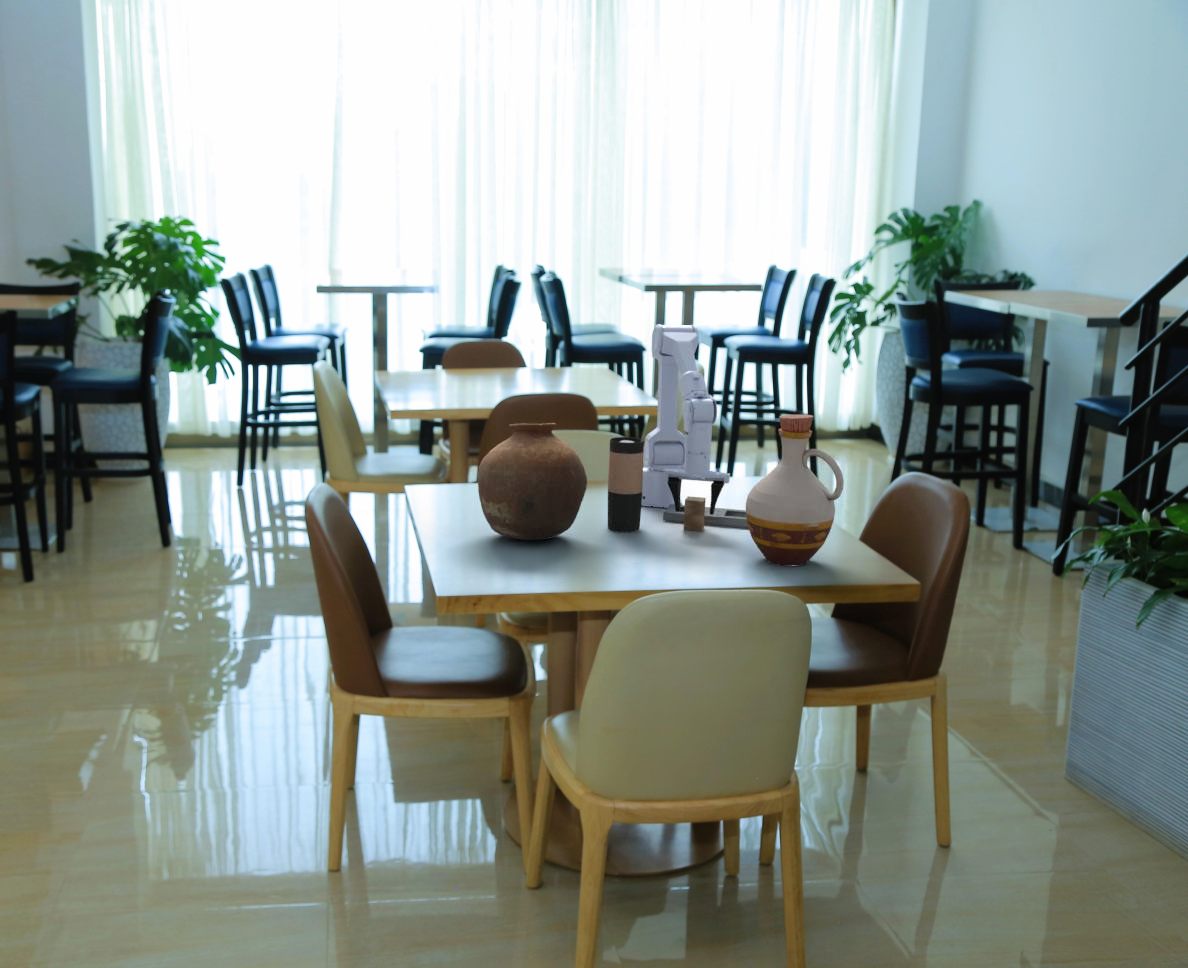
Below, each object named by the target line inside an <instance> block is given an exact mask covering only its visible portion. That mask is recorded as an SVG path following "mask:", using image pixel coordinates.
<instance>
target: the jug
mask: <svg viewBox="0 0 1188 968" xmlns="http://www.w3.org/2000/svg"><path fill="white" fill-rule="evenodd" d="M813 420H814V415H812V414H784V415H780V416H779V423H780V427H781V428H778V435H779V436H780V440H781V461H780V462H779V463H778V464H777V466H775V467H774V468H773V469H772V470H771V471H770V472H769V473H767V474H766V475H765V476H763V477H762V478H761V479H760V480H759V481H758V482H757V483H755V485H754V486H753V487H752V488H751V490H750V491H749V493H748V495H747V498H746V501H745V510H746V518H747V523H748V528H747V529H748V530H749V533H750V537H751V539H752V540H753V542H754V543H755V546H756V547H757V549H758V550H759V551H760V552H761V554H762V555H763V557H764V559H766V561H767V562H768V561H769V563H770V562H771V564H773V563H774V565H776V564H779V565H778V566H782V565H800V566H803V565H802V564H804V565H806V564H807V563H808V562H809V561H810V560H811V559H812V558H813V557H814V556H815V555H816V554H817V553H818V552H819V550H820V549H821V548H822V546H824V544H825V542H826V541H827V538H828V536H829V535H830V532H831V529H832V526H833V523H834V521H835V515H836V514H835V513H836V507H835V506H836V505H835V501H836V500H837V499H839V498H840V497H841V495H842V493H843V491H844V483H845V481H844V475H843V472H842V470H841V468H840V466H839V464H838V463H837V461H836V460H835V459H834V458H833V457H832V456H831V455H829V454H828V453H827V452H825V451H823V450H821V449H817V448H810V449H807V446H808V442H809V440H810V438H811V437H812V433H813V431H812V430H811V426H812V423H813ZM810 457H818V458H820V459H822V460H823V461H824V462H825V463H826V464H827V465H828V466H829V468H830V469H831V470H832V472H833V474H834V477H835V481H836V482H835V483H836V484H835V485H836V486H835V489H834V492H832V493H831V492H830V490H829V489H828V487H827V486H825V484H824V483H822V481H821V480H820V479H819V478H818V477H817V476H816V475H815V474H814V473H813V471H812V470H811V469H810V468H809V466H808V461H809V460H808V459H809V458H810ZM805 563H806V564H805Z"/></svg>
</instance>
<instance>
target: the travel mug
mask: <svg viewBox="0 0 1188 968" xmlns="http://www.w3.org/2000/svg"><path fill="white" fill-rule="evenodd" d="M644 445H645V440H643V441H642V440H641V438H637V437H631V436H618V437H617V436H616V437H611V438H610V440H609V452H608V453H609V456H608V474H607V475H608V478H607V529H608V530H609V529H610V530H609V531H612V532H616V531H617V533H634V532H638V531H639V530H640V525H641V515H642V514H641V513H642V506H641V503H642V486H643V468H644V458H643V454H644Z"/></svg>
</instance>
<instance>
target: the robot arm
mask: <svg viewBox="0 0 1188 968" xmlns="http://www.w3.org/2000/svg"><path fill="white" fill-rule="evenodd" d="M652 330H653V331H652V333H651V357H652V358H654V359H656V360H657V363H658V364H657V365H658V376H657V377H658V382H657V383H658V384H657V416H656V427H655V428H654V429H653V430H652V431H650V432H649V433H647V434H646V436H645V438H644V454H643V464H644V465H645V466H646V467H644V466H643V486H642V503H641V505H642V506H641V507H651V506H653V507H654V508H663V507H664V509H667V507H668V506H669V505H670V504H675V510H676V512H679V511H680V505H682V504H681V503H682V502H683V500H682V499H681V491H682V481H683V480H688V481H697V482H698V481H699V482H700V481H701V482H712V483H711V484H710V514H711V515H713V514H714V510H715V508H716V505H717V502H718V499H719V497H720V494H721V492H722V490H723V488H724V487H725V485H726V484H729V483H730V481H731V480H730V479H731V473H730V472H729V473H728V472H727V473H726V472H722V471H721V472H719V471H714V470H711V456H712V455H711V454H712V453H711V452H712V436H713V434H712V433H713V425H714V424H715V423H716V420H717V417H718V405H717V401H716V399H715V397H714V396H712V394H709V391H708V388H707V385H706V384H707V383H706V381H705V377H704V375H703V374H702V373H701V372H698V370H697V363H696V358H695V357H696V356H695V353H696V350H697V347H698V346H699V338H700V337H699V330H698V328H697V327H696V325H695V324H689V325H687V324H685V325H684V324H660V323H657V324H656V325H655V326H654V328H653V329H652ZM679 374H680V378H679ZM679 389H680V394H681V398H682V401H683V406H682V417H683V418H682V419H683V431H685V434H684V433H682V432H681V431H679V430H678V405H679V404H678V403H679V402H678V400H679V395H678V394H679ZM653 507H652V508H653Z"/></svg>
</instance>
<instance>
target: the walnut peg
mask: <svg viewBox="0 0 1188 968" xmlns="http://www.w3.org/2000/svg"><path fill="white" fill-rule="evenodd" d="M684 505H685V510H684V522H683V531H684V532H694V533H695V532H696V533H702V532H703V531H702V530H704V529H705V524H704V518H705V507H706V497H701V496H700V497H698V496H687V497H686V498H685V499H684Z"/></svg>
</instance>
